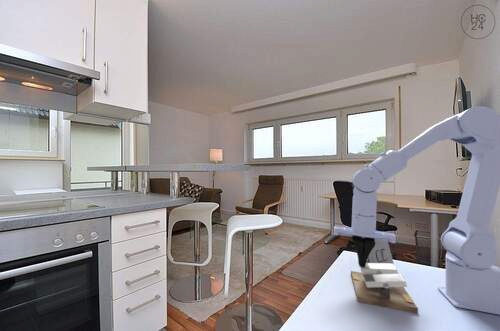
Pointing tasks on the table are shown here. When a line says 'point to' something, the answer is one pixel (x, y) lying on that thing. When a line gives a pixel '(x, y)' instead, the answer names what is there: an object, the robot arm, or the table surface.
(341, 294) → the table surface
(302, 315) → the table surface
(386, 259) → the electrical switch
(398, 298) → the switch board
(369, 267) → the rear rocker
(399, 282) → the block
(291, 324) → the table surface
